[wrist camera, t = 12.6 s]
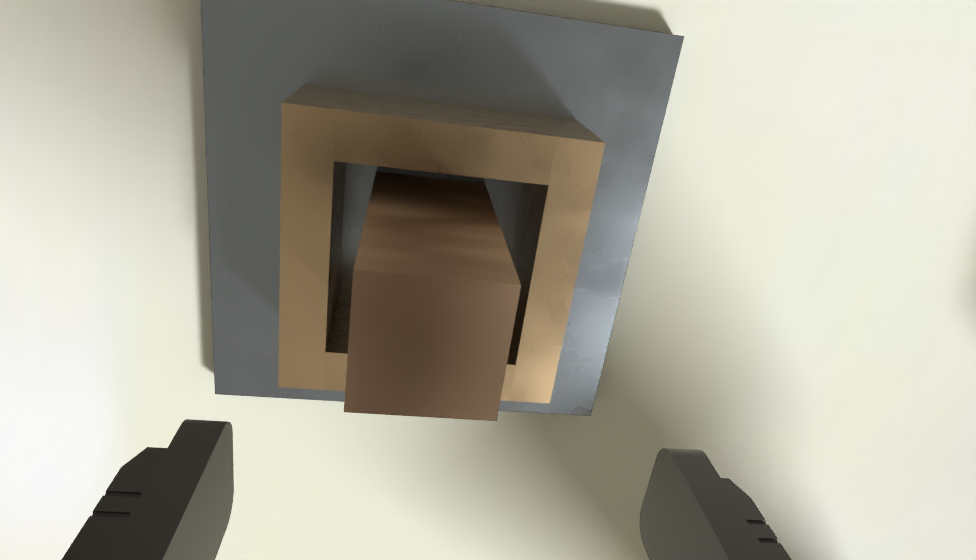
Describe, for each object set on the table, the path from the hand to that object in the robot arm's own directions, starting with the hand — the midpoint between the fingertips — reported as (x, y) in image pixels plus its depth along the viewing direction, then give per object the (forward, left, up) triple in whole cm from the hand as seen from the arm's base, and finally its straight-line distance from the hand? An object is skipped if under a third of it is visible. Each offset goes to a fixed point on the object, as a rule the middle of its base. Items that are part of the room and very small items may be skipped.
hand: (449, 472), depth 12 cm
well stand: (0, 0, -14) cm, 14 cm away
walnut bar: (0, 0, -13) cm, 13 cm away
